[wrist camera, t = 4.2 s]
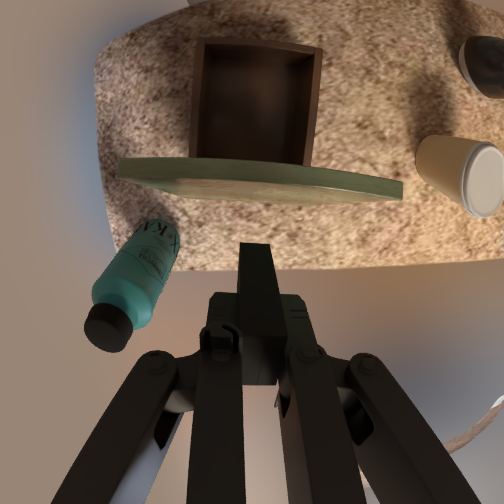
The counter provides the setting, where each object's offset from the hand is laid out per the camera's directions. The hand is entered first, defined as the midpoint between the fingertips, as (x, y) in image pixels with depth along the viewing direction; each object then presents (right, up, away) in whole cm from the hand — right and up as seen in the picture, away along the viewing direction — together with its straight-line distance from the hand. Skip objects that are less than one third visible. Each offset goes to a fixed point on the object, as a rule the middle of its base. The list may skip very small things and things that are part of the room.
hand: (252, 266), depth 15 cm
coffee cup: (+27, +14, +18) cm, 35 cm away
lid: (0, +5, +3) cm, 6 cm away
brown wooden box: (0, +17, +15) cm, 23 cm away
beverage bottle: (-12, +3, +22) cm, 26 cm away
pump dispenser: (+34, +30, +10) cm, 46 cm away
